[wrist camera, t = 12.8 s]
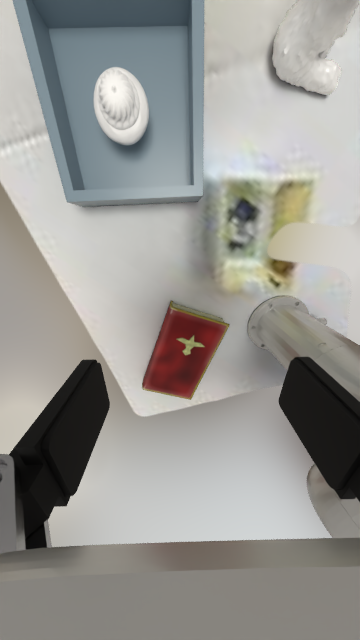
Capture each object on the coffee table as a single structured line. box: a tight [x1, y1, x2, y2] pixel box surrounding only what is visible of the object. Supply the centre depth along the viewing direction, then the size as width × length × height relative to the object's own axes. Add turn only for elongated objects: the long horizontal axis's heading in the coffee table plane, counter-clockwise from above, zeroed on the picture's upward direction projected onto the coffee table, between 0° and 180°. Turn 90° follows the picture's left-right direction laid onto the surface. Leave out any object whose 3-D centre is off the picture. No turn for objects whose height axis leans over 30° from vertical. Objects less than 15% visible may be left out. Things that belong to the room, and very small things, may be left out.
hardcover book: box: [142, 301, 229, 400], centre depth 40 cm, size 12×21×4 cm, turn 160°
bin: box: [13, 0, 204, 207], centre depth 22 cm, size 18×18×5 cm
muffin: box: [94, 67, 149, 145], centre depth 21 cm, size 6×6×7 cm
